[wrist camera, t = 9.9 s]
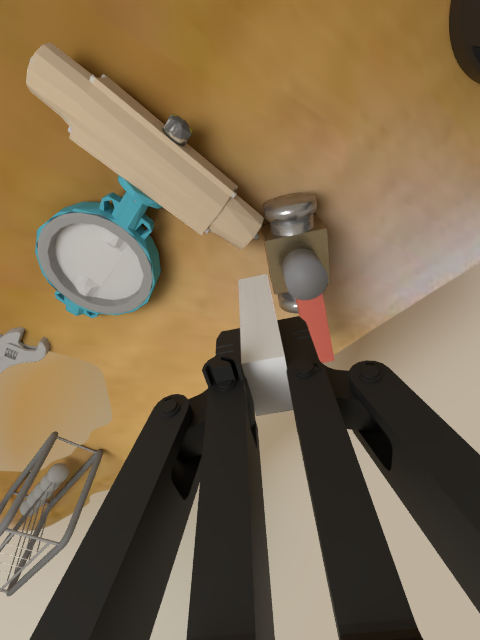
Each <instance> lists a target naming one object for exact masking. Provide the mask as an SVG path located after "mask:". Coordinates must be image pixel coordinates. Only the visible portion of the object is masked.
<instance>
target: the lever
mask: <svg viewBox="0 0 480 640" xmlns="http://www.w3.org/2000/svg"><path fill="white" fill-rule="evenodd" d="M282 273H283V277H284V280H285V283H286V286H287V290H288V292H289V293H290V294H291V295H292V296H293V297H294V298H295V299H296V304H297V308H298V312H299V317H301V318H302V319H303V320H304V321H306V323H307V326H308V329H309V332H310V335H311V338H312V340H313V343H314V346H315V349H316V352H317V355H318V358H319V360H320V361H321V362H322V363H325V362H329V361H333V360H334V356H333V350H332V344H331V339H330V333H329V327H328V321H327V316H326V310H325V304H324V299H323V292H324V290H325V289H326V287H327V285H328V274H327V271H326V270H325V268H324V266H323V265H322V263H321V261H320V260H319V258H318V256H317V255H316V253H314V252H313V251H311V250H309V249H305V248H301V249H296V250H294V251H292V252H290V253H289V254H288V255H287V256H286V257H285V258H284V260H283V263H282Z"/></svg>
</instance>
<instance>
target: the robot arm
mask: <svg viewBox="0 0 480 640" xmlns="http://www.w3.org/2000/svg"><path fill="white" fill-rule="evenodd" d="M449 32H450V40H451V45H452V49H453V52H454V55H455V58H456V60H457V62H458V64H459V65H460V67H461V68H462V70H463V71H464V72H465V73H466V74H467V75H468V76H469V77H470V78H471V79H473V80H474V81H476V82H478V83H480V0H451V5H450V15H449ZM239 308H240V328H238V329H233V330H228V331H222V332H221V333H220V335H219V336H218V338H217V341H216V355H215V357H213V358H212V359H210V360H208V361H207V362H206V363H205V365H204V366H203V369H202V372H203V374H204V377H205V380H206V382H207V385H208V389H207V390H206V391H204V392H203V393H201V394H199V395H197V396H195V397H193V398H190V399H187V398H186V397H185V396H184V395H180V394H175V395H170V396H167V397H165V398H163V399H162V400H161V401H159V402H158V403H157V405H156V406H155V407H154V409H153V411H152V412H151V414H150V416H149V418H148V420H147V422H146V424H145V425H144V427H143V429H142V431H141V433H140V435H139V437H138V438H137V440H136V442H135V444H134V446H133V448H132V450H131V452H130V453H129V455H128V457H127V459H126V461H125V463H124V465H123V466H122V468H121V470H120V472H119V474H118V476H117V478H116V479H115V481H114V483H113V485H112V487H111V489H110V491H109V492H108V495H107V496H106V498H105V500H104V502H103V504H102V506H101V508H100V509H99V511H98V513H97V515H96V517H95V519H94V520H93V523H92V524H91V526H90V528H89V530H88V532H87V533H86V536H85V537H84V539H83V541H82V543H81V545H80V547H79V548H78V550H77V552H76V554H75V556H74V558H73V560H72V561H71V563H70V565H69V567H68V569H67V571H66V573H65V575H64V576H63V578H62V580H61V582H60V584H59V586H58V587H57V589H56V591H55V593H54V595H53V597H52V599H51V601H50V602H49V604H48V606H47V608H46V610H45V612H44V614H43V616H42V617H41V619H40V621H39V623H38V625H37V627H36V629H35V630H34V632H33V634H32V636H31V638H30V640H149V639H150V636H151V633H152V629H153V626H154V623H155V620H156V617H157V614H158V611H159V608H160V605H161V602H162V598H163V595H164V592H165V589H166V586H167V583H168V580H169V577H170V573H171V570H172V567H173V564H174V561H175V558H176V555H177V551H178V548H179V545H180V542H181V539H182V535H183V533H184V530H185V526H186V523H187V520H188V517H189V514H190V511H191V508H192V505H193V501H194V498H195V495H196V492H197V489H198V485H199V483H200V489H199V501H198V512H197V525H196V536H195V548H194V559H193V570H192V571H193V572H192V583H191V594H190V605H189V618H188V629H187V640H275V636H274V623H273V612H272V599H271V586H270V576H269V575H270V574H269V562H268V550H267V537H266V525H265V513H264V500H263V488H262V476H261V465H260V452H259V439H258V428H257V424H256V421H255V414H256V416H258V415H265V414H271V413H277V412H284V411H290V410H294V415H295V421H296V426H297V432H298V435H299V440H300V446H301V451H302V455H303V461H304V466H305V471H306V476H307V481H308V486H309V491H310V496H311V501H312V506H313V511H314V516H315V521H316V526H317V531H318V536H319V541H320V546H321V552H322V557H323V562H324V567H325V572H326V577H327V582H328V587H329V591H330V597H331V602H332V607H333V612H334V617H335V622H336V627H337V632H338V637H339V640H423V638H422V637H421V634H420V632H419V630H418V628H417V625H416V623H415V620H414V617H413V615H412V612H411V609H410V606H409V603H408V601H407V598H406V595H405V592H404V590H403V587H402V584H401V581H400V578H399V575H398V572H397V570H396V567H395V564H394V561H393V558H392V555H391V553H390V550H389V547H388V544H387V541H386V539H385V536H384V533H383V530H382V527H381V524H380V522H379V519H378V516H377V514H376V510H375V508H374V505H373V502H372V499H371V496H370V494H369V491H368V488H367V485H366V482H365V479H364V477H363V474H362V471H361V468H360V465H359V463H358V460H357V457H356V454H355V451H354V448H353V446H352V443H351V440H350V437H349V435H348V432H347V429H352V430H353V432H354V434H355V435H356V437H357V438H358V440H359V441H360V442H361V444H362V445H363V447H364V448H365V450H366V451H367V452H368V454H369V455H370V457H371V458H372V459H373V461H374V462H375V464H376V465H377V467H378V468H379V470H380V471H381V473H382V474H383V475H384V477H385V478H386V479H387V481H388V483H389V484H390V485H391V487H392V488H393V490H394V491H395V492H396V494H397V495H398V497H399V498H400V500H401V501H402V502H403V504H404V505H405V507H406V508H407V510H408V511H409V513H410V514H411V515H412V517H413V518H414V520H415V521H416V522H417V524H418V525H419V527H420V528H421V530H422V531H423V533H424V534H425V536H426V537H427V538H428V540H429V541H430V543H431V544H432V545H433V547H434V548H435V550H436V551H437V553H438V554H439V556H440V557H441V558H442V560H443V561H444V563H445V564H446V566H447V567H448V568H449V570H450V571H451V573H452V574H453V575H454V577H455V578H456V580H457V581H458V583H459V584H460V585H461V587H462V588H463V590H464V591H465V593H466V594H467V596H468V597H469V599H470V600H471V601H472V603H473V604H474V606H475V607H476V609H477V610H478V611H479V613H480V455H479V454H478V453H477V452H476V451H475V450H474V449H473V448H472V447H471V446H470V445H469V444H468V443H467V442H466V441H465V440H464V439H462V437H461V436H459V435H458V434H457V433H456V432H455V431H454V430H453V429H452V428H451V427H450V426H449V425H448V424H447V423H446V422H445V421H444V420H443V419H442V418H441V417H439V415H437V414H436V413H435V412H434V411H433V410H432V409H431V408H430V407H429V406H428V405H427V404H426V403H425V402H424V401H423V400H422V399H421V398H420V397H419V396H418V395H416V393H415V392H414V391H413V390H411V389H410V388H409V387H408V386H407V385H406V384H405V383H404V382H403V381H402V380H401V379H400V378H399V377H398V376H397V375H396V374H395V373H394V372H393V371H392V370H391V369H390V368H388V367H387V366H385V365H384V364H382V363H379V362H376V361H362V362H358V363H357V364H354V365H353V366H352V367H351V369H350V370H349V371H344V370H334V369H331V368H328V367H327V366H325V365H324V364H322V362H321V361H320V360H319V358H318V355H317V352H316V349H315V346H314V343H313V340H312V338H311V335H310V332H309V329H308V326H307V323H306V321H304V320H303V319H302V318H301V317H299V316H297V317H292V318H287V319H282V320H277V318H276V313H275V308H274V303H273V299H272V294H271V289H270V285H269V280H268V275H267V274H264V275H259V276H254V277H249V278H244V279H239ZM254 410H255V411H254Z"/></svg>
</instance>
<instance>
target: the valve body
mask: <svg viewBox="0 0 480 640" xmlns="http://www.w3.org/2000/svg"><path fill="white" fill-rule="evenodd" d="M263 209H264V215H265V219H266V220H267V221H270V224H266V225H262V226H261V227H262V233H263V238H264V244H265V250H266V256H267V261H268V267H269V273H270V278H271V282H272V286H273V291H274V294H278V300H279V305H280V307H281V308H282V309H283V310H284V311H287V312H290V313H299V312H298V308H297V304H296V299H295V298H294V297H293V296H292V295H291V294H290V293H289V292H288V290H287V286H286V283H285V280H284V277H283V273H282V263H283V260H284V258H285V257H286V256H287V255H288V254H289V253H290V252H292V251H294V250H296V249H301V248H305V249H309V250H311V251H313V252H314V253H316V255H317V256H318V258H319V260H320V261H321V263H322V265H323V266H324V268H325V270H326V271H327V274H328V284H330V267H329V251H328V234H327V227H326V226H325V225H324V224H323V223H322V221H321V220H320V219H319V218H318V216H317V215H316V214H313V213H315V212H316V211H317V202H316V195H315V194H313V193H293V194H287V195H283V196H279V197H276V198H273V199H271V200H269V201H267V202H265V203H264V204H263ZM323 299H324V294H323Z"/></svg>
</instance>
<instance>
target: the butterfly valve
mask: <svg viewBox="0 0 480 640" xmlns="http://www.w3.org/2000/svg"><path fill="white" fill-rule="evenodd" d="M26 85H27V86H28V88H29V90H30V91H31V92H32V93H33V94H34V95H35V96H37V97H38V98H39V99H40V100H41V101H43V102H44V103H45V104H46V105H47V106H49V107H50V108H51V109H52V110H53V111H55V112H56V113H57V114H58V115H60V116H61V117H62V118H63V119H64V120H65V122H66V123H67V124H68V125H69V129H68V131H69V132H70V133H71V134H70V137H69V139H71V140H72V141H74V142H75V143H76V144H78V145H79V146H80V147H82V148H83V149H84V150H86V151H87V152H88V153H90V154H91V155H93V156H94V157H95V158H97V159H98V160H99V161H101V162H102V163H103V164H105V165H106V166H108V167H109V168H110V169H112V170H113V171H114V172H116V173H117V174H118V181H119V183H120V184H121V186H122V187H123V188H124V190H126V193H125V195H124V196H123V198H121V197H120V196H118V195H116V194H115V193H113V192H112V193H110V194H108V195H106V196H105V197H103V198H102V200H101V202H80V203H77V204H74V205H71V206H68V207H65V208H63V209H62V210H60V211H59V212H58V213H57V214H55V215H54V216H53V217H52V218H50V219H49V220H48V221H47V222H46V223H45V224H43V225H42V226H41V227H40V228H39V229H38V230H37V239H36V249H35V253H36V256H37V259H38V262H39V265H40V268H41V271H42V273H43V275H44V276H45V278H46V279H47V281H48V282H49V284H51V285H52V286H53V287H54V288H55V289H56V290H57V291H56V292H55V296H56V299H58V300H60V301H61V302H63V303H64V304H66V311H68V312H70V313H72V314H74V315H76V316H78V315H81V314H85V315H87V316H89V317H91V318H94V317H97V316H98V314H110V315H119V314H124V313H129V312H134V311H135V310H137V309H138V308H140V307H141V306H143V305H144V304H146V303H147V302H148V300H149V298H150V296H151V294H152V292H153V290H154V288H155V285H156V283H157V280H158V278H159V275H160V273H161V268H160V260H159V252H158V250H157V248H156V246H155V243H154V241H153V239H152V237H151V236H150V235H149V234H150V233H151V232H152V231H153V229H154V221H153V220H151V219H150V218H149V217H148V216H147V215H145V212H146V210H147V208H148V206H150V207H153V208H156V209H159V208H165V209H166V210H167V211H169V212H170V213H171V214H173V215H174V216H175V217H177V218H178V219H180V220H181V221H182V222H184V223H185V224H186V225H188V226H189V227H190V228H192V229H193V230H195V231H196V232H197V233H199V234H200V235H201V236H202V234H203V233H204V232H205V233H206V234H207V233H208V232H212V233H215V234H217V235H219V236H220V237H222V238H223V239H225V240H226V241H228V242H229V243H231V244H232V245H234V246H235V247H237V248H238V249H243V248H244V247H245V246H246V245H247V244H248V243H249V242H250V241H251V240H252V239H253V238H255V239H256V240H257V239H258V237H259V236H258V234H257V232H258V231H259V229H260V228H261V226H262V223H263V219H264V217H263V216H261V215H260V214H259V213H258V212H257V211H255V210H254V209H253V208H252V207H251V206H250V205H248V204H247V203H246V202H245V201H244V200H242V199H241V198H240V197H239V196H238V195H237V193H235V191H236V190H237V188H238V186H237V185H236V184H235V183H234V182H232V181H231V180H230V179H229V178H228V177H226V176H225V175H224V174H223V173H222V172H220V171H219V170H218V169H217V168H216V167H214V166H213V165H212V164H211V163H210V162H209V161H207V160H206V159H205V158H204V157H203V156H201V155H200V154H199V153H198V152H197V151H195V150H194V149H193V148H192V147H191V146H189V145H188V144H187V141H188V139H189V138H190V136H191V135H192V133H193V131H192V130H191V128H190V127H189V126H188V124H187V123H186V121H185V120H183V119H182V118H180V117H178V116H176V115H173V114H171V115H170V117H169V119H168V120H167V122H166V124H165V125H164V124H163V123H162V122H161V121H160V120H159V119H157V118H156V117H155V116H154V115H153V114H151V113H150V112H149V111H148V110H147V109H145V108H144V107H143V106H142V105H141V104H139V103H138V102H137V101H136V100H135V99H134V98H132V97H131V96H130V95H129V94H128V93H126V92H125V91H124V90H123V89H122V88H120V87H119V86H118V85H117V84H116V83H114V82H113V81H112V80H111V79H110V78H109V77H107V76H105V75H104V74H103V75H102V76H101V77H100V78H96V77H95V76H94V75H92V74H91V73H90V72H88V71H87V70H86V69H84V68H83V67H82V66H80V65H79V64H78V63H77V62H75V61H74V60H73V59H71V58H70V57H69V56H68V55H66V54H65V53H64V52H62V51H61V50H60V49H58V48H57V47H56V46H55V45H53V44H52V43H47V44H43V45H42V46H41V47H40V48H39V49H38V50H37V51H36V52H35V53H34V55H33V57H32V58H31V60H30V64H29V66H28V68H27V79H26ZM109 200H112V202H113V205H114V206H112V205H111V204H110V203H109ZM142 223H143V224H144V225H145V226H146V227H147V228H148V229H147V230H145V229H144V228H143V227H142V225H141V224H142Z"/></svg>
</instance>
